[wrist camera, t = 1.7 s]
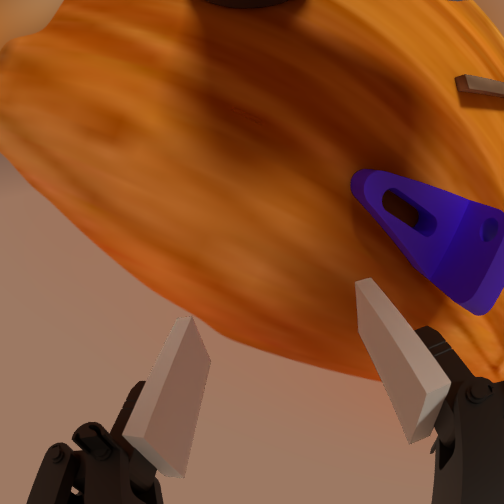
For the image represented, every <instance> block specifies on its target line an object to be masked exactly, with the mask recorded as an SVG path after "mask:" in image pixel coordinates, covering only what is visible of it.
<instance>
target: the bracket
mask: <svg viewBox="0 0 504 504" xmlns="http://www.w3.org/2000/svg"><path fill="white" fill-rule="evenodd" d="M386 190H389V191H391V192H392V193H394V194H395V195H397V196H398V197H400V198H401V199H403V200H404V201H406V202H407V203H408V204H410V205H411V206H413V207H414V208H415V209H416V210H417V211H418V214H419V219H418V222H417V224H416V225H415V226H414V227H410V226H408V225H407V224H405V223H404V222H402V221H401V220H399V219H398V218H396V217H395V216H393V215H392V214H390V213H389V212H387V211H386V210H385V209H384V207H383V205H382V197H383V194H384V193H385V191H386ZM351 191H352V193H353V195H354V197H355V198H356V199H357V200H358V201H359V202H360V203H361V204H362V205H363V206H364V207H365V209H366V210H367V211H368V212H369V213H370V214H371V215H372V217H373V218H374V219H375V220H376V221H377V222H378V223H379V225H380V226H381V227H382V228H383V229H384V231H385V232H386V233H387V234H388V235H389V237H390V238H391V239H392V240H393V241H394V243H395V244H396V245H397V246H398V248H399V249H400V250H401V251H402V253H403V254H404V255H405V257H406V258H407V259H408V260H409V262H410V263H411V264H412V266H413V267H414V268H415V269H416V270H418V271H419V272H420V273H421V274H423V275H424V276H425V277H426V278H427V279H429V280H430V281H431V282H432V283H433V284H434V285H436V286H437V287H438V288H439V289H440V290H441V291H443V292H444V293H445V294H446V295H447V296H448V297H450V298H451V299H452V300H453V301H454V302H456V303H457V304H459V305H460V306H462V307H463V308H465V309H467V310H468V311H470V312H471V313H473V314H474V315H478V316H479V315H484V314H486V313H487V312H488V311H489V310H490V309H491V308H492V307H493V305H494V304H495V302H496V300H497V298H498V297H499V295H500V293H501V291H502V289H503V287H504V213H503V212H502V211H501V210H499V209H496V208H493V207H490V206H487V205H484V204H481V203H477V202H474V201H471V200H468V199H466V198H463V197H460V196H458V195H455V194H453V193H450V192H447V191H445V190H442V189H439V188H436V187H433V186H430V185H428V184H425V183H422V182H419V181H415V180H412V179H409V178H406V177H403V176H399V175H396V174H393V173H389V172H386V171H380V170H372V169H361V170H359V171H357V172H356V173H355V174H354V175H353V177H352V179H351Z"/></svg>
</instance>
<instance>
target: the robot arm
mask: <svg viewBox="0 0 504 504" xmlns="http://www.w3.org/2000/svg"><path fill="white" fill-rule="evenodd" d="M206 1H208V2H211V3H214V4H217V5H221V6H226V7H234V8H258V7H266V6H271V5H276V4H279V3H282V2H285V1H288V0H206ZM449 1H462V0H449ZM355 290H356V302H357V317H358V333H359V335H360V337H361V339H362V341H363V343H364V345H365V347H366V349H367V351H368V353H369V355H370V357H371V359H372V361H373V363H374V365H375V367H376V370H377V372H378V374H379V376H380V378H381V380H382V382H383V385H384V387H385V389H386V391H387V393H388V396H389V398H390V400H391V402H392V405H393V407H394V409H395V412H396V414H397V416H398V419H399V421H400V423H401V426H402V428H403V431H404V433H405V435H406V438H407V440H408V443H409V444H412V443H414V442H416V441H419V440H421V439H424V438H426V437H428V436H430V434H431V432H432V430H433V428H434V427H435V430H436V432H437V434H438V437H437V439H436V441H435V442H434V444H433V446H432V448H431V452H430V454H432V453H434V451H435V449H436V455H435V476H434V487H433V496H432V504H504V381H501V382H497V383H492V382H491V381H490V380H489V379H486V378H483V377H475V376H474V375H473V374H472V373H471V372H470V370H469V369H468V368H467V366H466V365H465V364H464V363H463V361H462V360H461V359H460V357H459V356H458V355H457V354H456V352H455V351H454V350H453V349H451V346H450V345H449V344H448V343H447V342H446V341H445V339H444V338H443V337H442V336H441V334H440V333H439V332H438V331H436V330H434V329H432V328H430V327H429V326H425V327H422V328H419V329H417V330H413V329H412V327H411V326H410V325H409V323H408V322H407V321H406V320H405V318H404V317H403V316H402V315H401V313H400V312H399V311H398V310H397V308H396V307H395V306H394V305H393V303H392V302H391V301H390V300H389V298H388V297H387V296H386V295H385V294H384V292H383V291H382V290H381V289H380V288H379V286H378V285H377V284H376V283H375V282H374V281H373V279H372V278H367V279H363V280H359V281H355ZM210 364H211V360H210V358H209V355H208V353H207V351H206V349H205V346H204V344H203V341H202V339H201V337H200V334H199V332H198V330H197V327H196V325H195V322H194V320H193V317H192V316H189V317H182V318H177V319H176V321H175V323H174V325H173V327H172V329H171V331H170V333H169V335H168V337H167V339H166V341H165V343H164V345H163V347H162V349H161V351H160V353H159V355H158V358H157V360H156V362H155V364H154V366H153V368H152V370H151V372H150V374H149V376H148V378H147V381H139V382H138V383H137V384H136V385H135V386H134V387H133V388H132V389H131V391H130V393H129V395H128V397H127V399H126V402H125V403H124V405H123V409H121V411H120V413H119V415H118V417H117V419H116V421H115V424H114V425H113V428H112V430H111V432H110V434H109V433H108V432H107V431H106V430H105V429H104V427H102V425H101V424H99V423H97V422H88V423H86V424H83V425H82V426H80V427H79V428H78V429H77V430H76V431H75V432H74V434H73V436H72V440H73V441H74V442H75V443H76V444H77V445H78V446H79V447H80V448H81V449H82V450H81V451H73V450H72V449H71V448H70V447H69V446H68V445H67V444H65V443H56V444H54V445H52V446H51V447H50V448H49V449H48V451H47V452H46V454H45V456H44V459H43V461H42V464H41V466H40V468H39V471H38V473H37V476H36V479H35V481H34V484H33V486H32V489H31V492H30V495H29V498H28V501H27V504H163V498H162V493H161V487H160V483H159V481H158V479H157V478H156V477H155V474H156V471H157V470H158V471H160V472H161V473H162V474H163V475H164V476H168V477H177V478H184V477H185V473H186V468H187V464H188V459H189V455H190V450H191V446H192V441H193V437H194V432H195V428H196V424H197V419H198V415H199V410H200V406H201V402H202V398H203V393H204V389H205V385H206V380H207V376H208V372H209V367H210ZM72 486H73V487H74V488H75V489H77V490H78V491H79V492H78V494H76V495H75V494H74V493H72V492H71V488H72Z"/></svg>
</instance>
